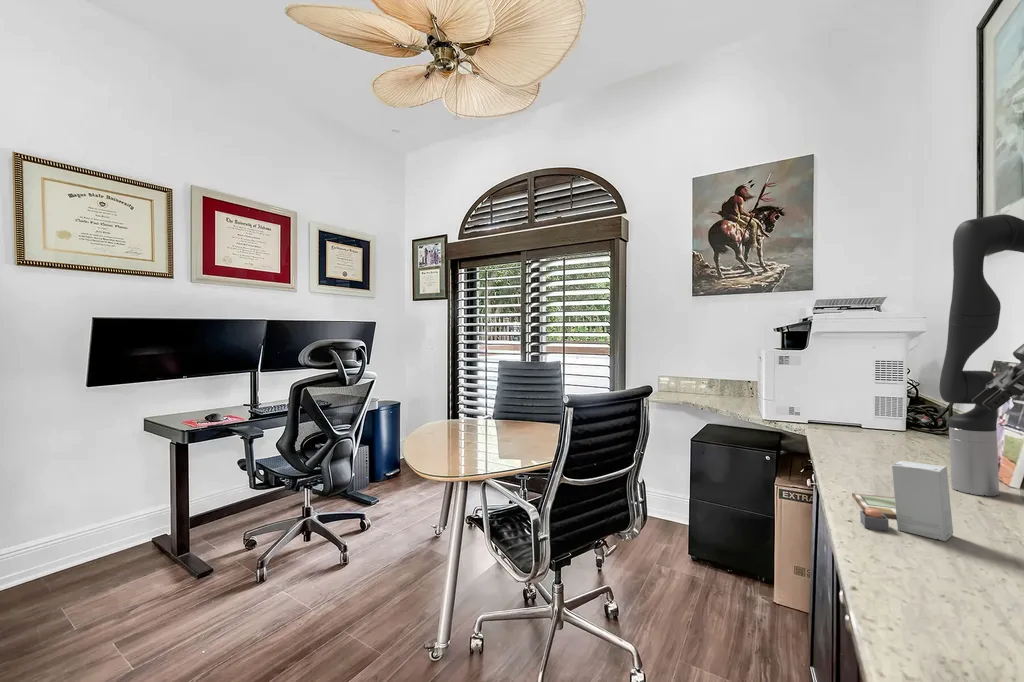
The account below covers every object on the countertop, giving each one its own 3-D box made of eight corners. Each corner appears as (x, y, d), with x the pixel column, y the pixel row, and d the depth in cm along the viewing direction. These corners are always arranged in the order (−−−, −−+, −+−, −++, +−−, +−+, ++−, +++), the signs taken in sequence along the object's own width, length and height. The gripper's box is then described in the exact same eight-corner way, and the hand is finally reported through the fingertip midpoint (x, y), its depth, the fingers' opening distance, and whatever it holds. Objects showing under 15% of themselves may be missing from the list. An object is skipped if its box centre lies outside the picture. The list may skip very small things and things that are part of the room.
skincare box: (953, 535, 95) (950, 466, 96) (945, 543, 92) (942, 471, 92) (903, 523, 102) (900, 458, 103) (893, 529, 99) (891, 463, 99)
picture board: (852, 496, 121) (852, 492, 121) (914, 502, 115) (914, 499, 115) (866, 515, 108) (865, 511, 108) (937, 523, 102) (936, 519, 102)
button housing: (860, 521, 104) (860, 510, 104) (883, 524, 102) (882, 513, 102) (865, 528, 100) (864, 516, 100) (888, 531, 98) (888, 519, 98)
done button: (864, 514, 103) (863, 507, 103) (880, 516, 102) (880, 509, 102) (867, 518, 101) (867, 511, 101) (884, 520, 99) (883, 513, 99)
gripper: (1020, 337, 96) (954, 392, 102) (1047, 333, 85) (971, 395, 90) (1062, 360, 93) (991, 415, 98) (1095, 359, 81) (1013, 422, 87)
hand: (981, 406), depth 94 cm, fingers open, 8 cm apart
